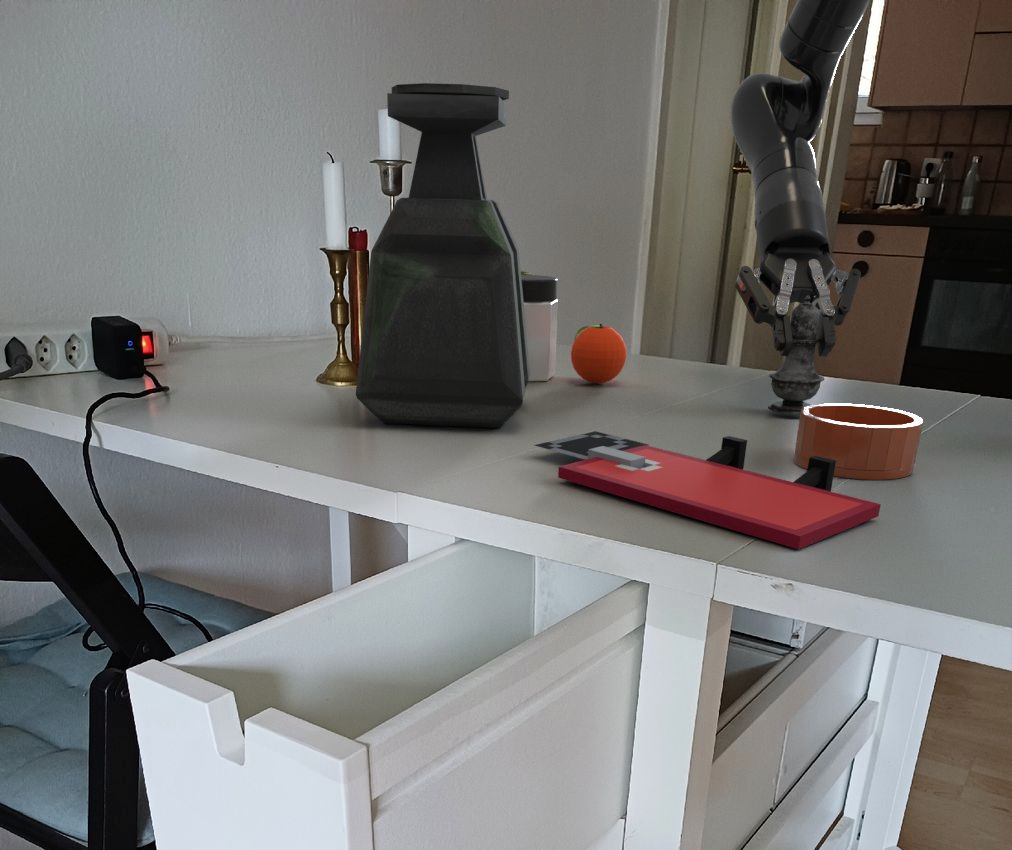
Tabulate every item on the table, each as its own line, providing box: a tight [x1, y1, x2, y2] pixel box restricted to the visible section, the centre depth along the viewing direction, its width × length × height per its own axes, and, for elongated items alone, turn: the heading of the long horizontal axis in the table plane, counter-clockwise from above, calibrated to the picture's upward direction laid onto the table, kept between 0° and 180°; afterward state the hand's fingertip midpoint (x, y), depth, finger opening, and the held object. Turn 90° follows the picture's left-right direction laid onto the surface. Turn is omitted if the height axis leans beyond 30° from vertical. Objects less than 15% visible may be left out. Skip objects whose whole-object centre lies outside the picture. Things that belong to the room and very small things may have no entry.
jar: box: [521, 274, 559, 383], centre depth 128 cm, size 9×8×12 cm
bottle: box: [355, 82, 530, 429], centre depth 101 cm, size 18×16×30 cm
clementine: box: [570, 323, 628, 384], centre depth 127 cm, size 8×7×7 cm
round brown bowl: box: [793, 403, 924, 481], centre depth 91 cm, size 10×10×4 cm
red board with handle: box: [533, 431, 881, 550], centre depth 83 cm, size 30×3×15 cm
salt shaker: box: [767, 295, 825, 415], centre depth 110 cm, size 6×6×12 cm
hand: (806, 351), depth 108 cm, fingers closed on salt shaker, 3 cm apart
